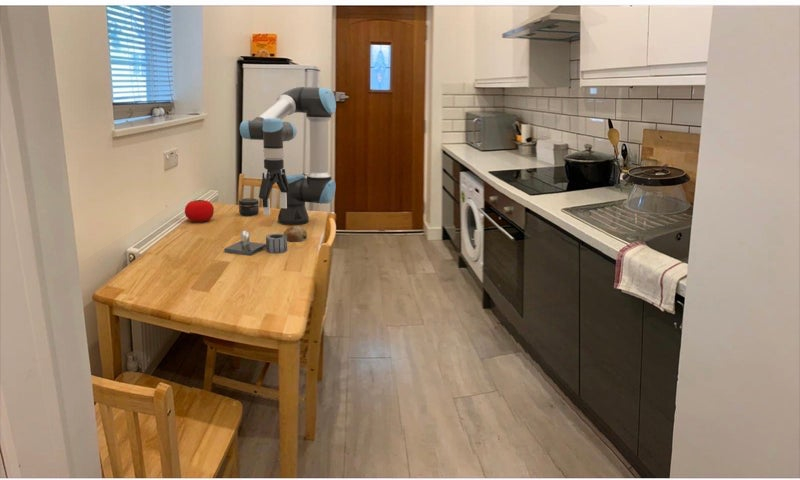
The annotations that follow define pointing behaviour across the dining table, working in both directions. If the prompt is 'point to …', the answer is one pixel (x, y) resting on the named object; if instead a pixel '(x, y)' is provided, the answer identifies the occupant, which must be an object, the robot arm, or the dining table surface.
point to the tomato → (199, 210)
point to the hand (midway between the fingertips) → (275, 211)
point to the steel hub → (276, 243)
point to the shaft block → (245, 246)
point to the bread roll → (295, 234)
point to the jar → (248, 207)
